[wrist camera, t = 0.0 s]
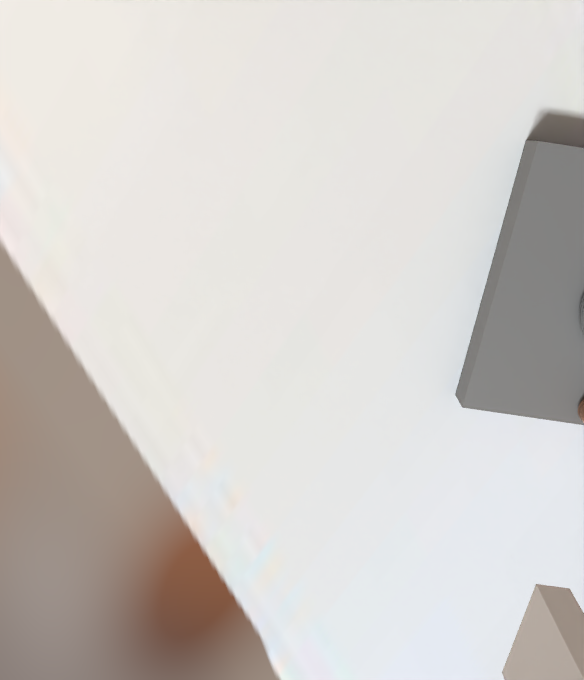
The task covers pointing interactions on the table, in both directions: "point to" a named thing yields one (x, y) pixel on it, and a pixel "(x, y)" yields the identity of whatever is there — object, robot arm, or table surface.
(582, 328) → the dial
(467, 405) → the board
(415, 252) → the table surface
